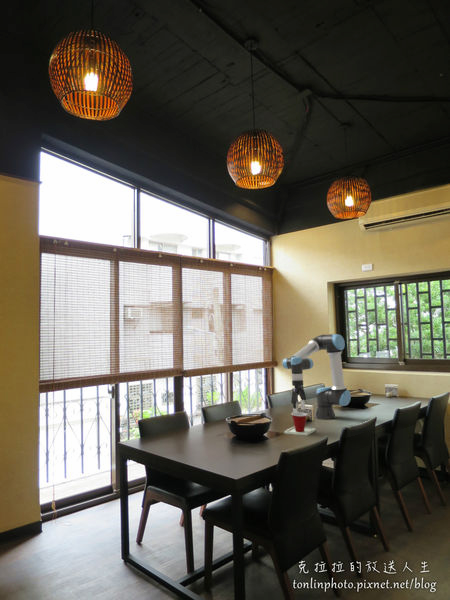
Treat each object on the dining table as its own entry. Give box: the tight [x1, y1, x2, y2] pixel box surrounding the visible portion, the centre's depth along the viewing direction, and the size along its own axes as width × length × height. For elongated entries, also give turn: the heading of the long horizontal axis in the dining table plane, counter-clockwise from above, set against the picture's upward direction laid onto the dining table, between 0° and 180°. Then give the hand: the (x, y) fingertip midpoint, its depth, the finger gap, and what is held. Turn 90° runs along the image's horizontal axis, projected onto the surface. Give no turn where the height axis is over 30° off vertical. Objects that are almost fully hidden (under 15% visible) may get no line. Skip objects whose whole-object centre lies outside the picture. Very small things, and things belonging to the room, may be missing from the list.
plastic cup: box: [291, 411, 308, 432], centre depth 286 cm, size 11×11×12 cm
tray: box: [283, 425, 317, 437], centre depth 286 cm, size 16×16×1 cm
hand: (299, 411), depth 287 cm, fingers open, 13 cm apart
